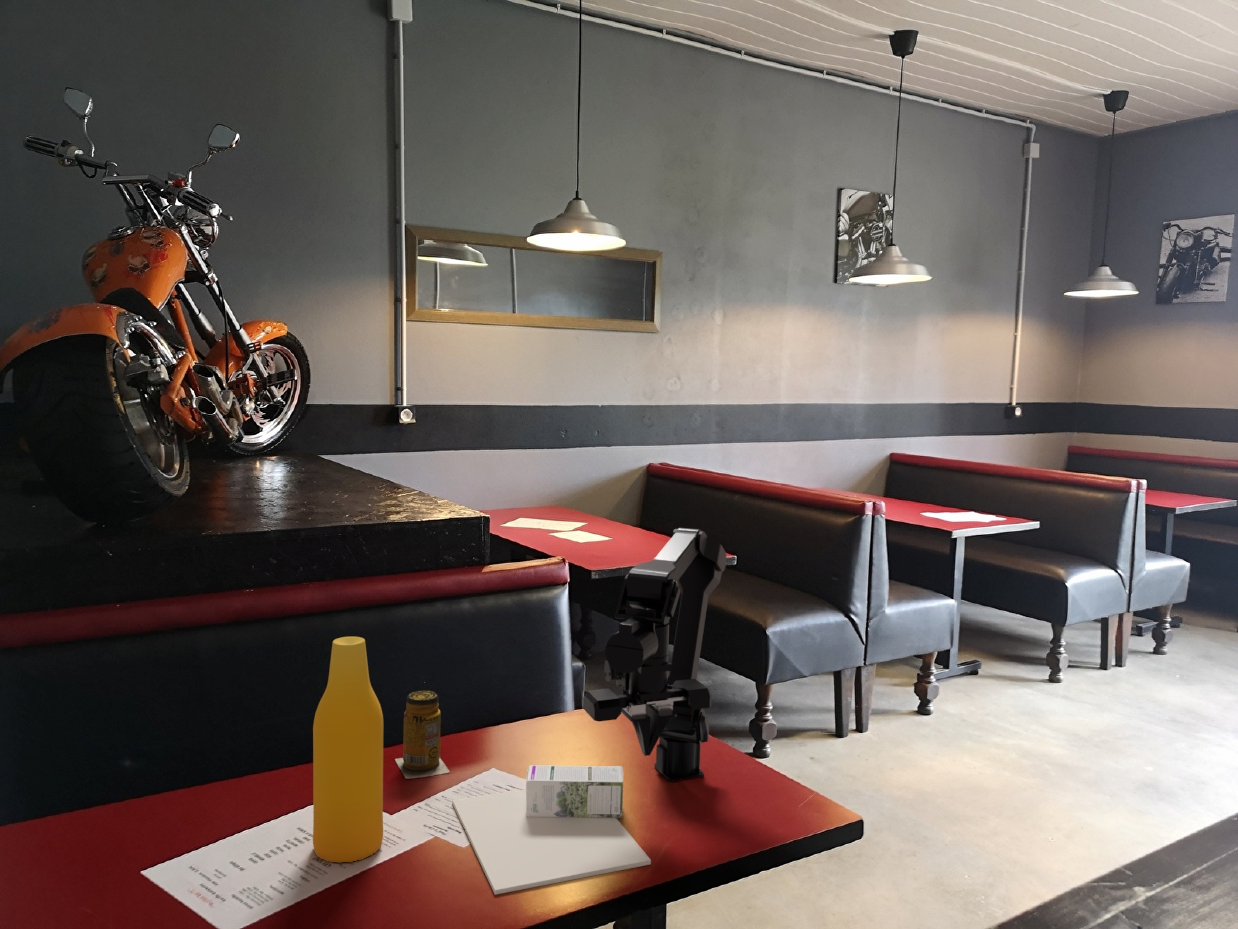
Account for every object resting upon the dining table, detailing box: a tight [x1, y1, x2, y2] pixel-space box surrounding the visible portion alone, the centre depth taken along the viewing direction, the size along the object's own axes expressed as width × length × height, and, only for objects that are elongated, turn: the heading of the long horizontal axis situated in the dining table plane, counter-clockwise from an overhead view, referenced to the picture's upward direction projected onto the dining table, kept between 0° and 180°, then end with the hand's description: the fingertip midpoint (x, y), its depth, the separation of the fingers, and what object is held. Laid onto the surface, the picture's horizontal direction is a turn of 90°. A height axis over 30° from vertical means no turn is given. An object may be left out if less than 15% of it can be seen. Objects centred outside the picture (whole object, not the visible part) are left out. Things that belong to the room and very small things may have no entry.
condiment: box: [394, 690, 451, 780], centre depth 148 cm, size 7×8×12 cm
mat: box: [451, 788, 652, 895], centre depth 128 cm, size 22×26×1 cm
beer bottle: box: [312, 636, 384, 863], centre depth 121 cm, size 9×9×29 cm
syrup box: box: [525, 764, 624, 819], centre depth 133 cm, size 6×6×14 cm
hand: (646, 754), depth 133 cm, fingers closed
